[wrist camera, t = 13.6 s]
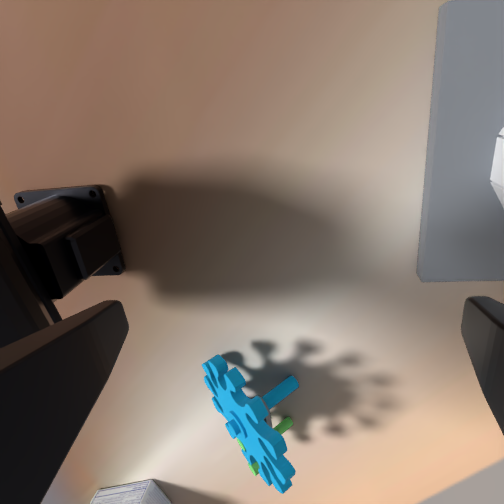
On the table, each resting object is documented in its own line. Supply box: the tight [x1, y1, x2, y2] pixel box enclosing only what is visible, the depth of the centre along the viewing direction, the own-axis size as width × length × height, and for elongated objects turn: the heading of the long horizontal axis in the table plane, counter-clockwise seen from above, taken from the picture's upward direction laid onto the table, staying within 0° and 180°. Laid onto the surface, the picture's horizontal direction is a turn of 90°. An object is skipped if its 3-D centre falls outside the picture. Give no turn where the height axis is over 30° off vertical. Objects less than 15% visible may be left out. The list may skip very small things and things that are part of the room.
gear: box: [202, 355, 299, 494], centre depth 26 cm, size 11×6×10 cm
